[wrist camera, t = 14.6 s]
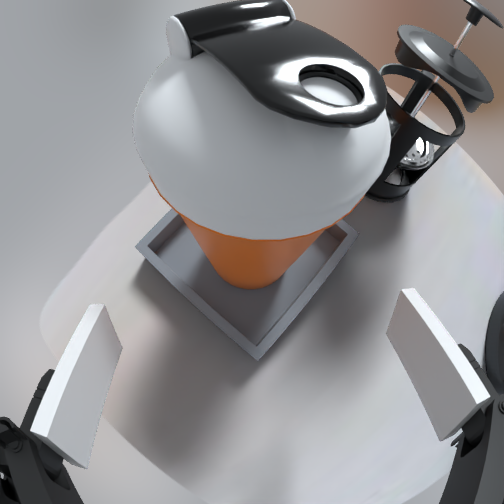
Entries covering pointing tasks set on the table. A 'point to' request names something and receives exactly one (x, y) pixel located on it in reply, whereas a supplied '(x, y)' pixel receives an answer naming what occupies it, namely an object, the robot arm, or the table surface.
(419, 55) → the french press
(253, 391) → the table surface
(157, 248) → the tray
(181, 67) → the shaker bottle
